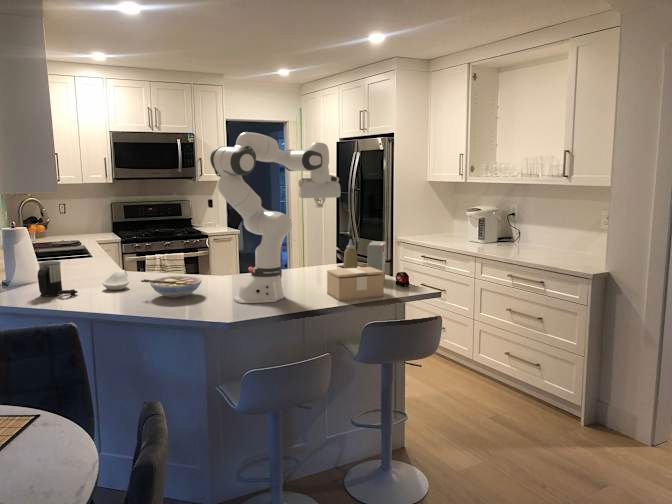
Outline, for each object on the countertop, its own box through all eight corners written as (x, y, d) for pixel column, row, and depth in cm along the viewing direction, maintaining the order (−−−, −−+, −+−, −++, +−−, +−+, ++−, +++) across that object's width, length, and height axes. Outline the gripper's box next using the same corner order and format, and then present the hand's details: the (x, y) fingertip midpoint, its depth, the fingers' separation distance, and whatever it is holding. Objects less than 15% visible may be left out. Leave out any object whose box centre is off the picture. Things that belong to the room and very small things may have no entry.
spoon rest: (127, 291, 257) (126, 276, 256) (100, 292, 255) (99, 277, 254) (135, 280, 280) (134, 267, 279) (111, 281, 278) (110, 268, 277)
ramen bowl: (214, 292, 256) (213, 275, 254) (187, 304, 234) (186, 286, 233) (167, 288, 263) (166, 272, 261) (137, 300, 241) (136, 282, 240)
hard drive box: (381, 285, 272) (382, 245, 269) (366, 284, 274) (367, 245, 271) (385, 278, 287) (386, 241, 284) (370, 278, 289) (371, 240, 286)
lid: (338, 277, 240) (338, 274, 239) (327, 272, 252) (327, 269, 252) (383, 273, 248) (383, 271, 248) (370, 268, 261) (370, 266, 260)
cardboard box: (338, 301, 241) (339, 278, 240) (327, 293, 254) (327, 272, 252) (383, 296, 249) (384, 275, 248) (370, 289, 262) (370, 269, 261)
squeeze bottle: (360, 272, 303) (360, 240, 300) (346, 273, 300) (346, 240, 297) (354, 269, 311) (354, 238, 308) (340, 270, 308) (341, 238, 305)
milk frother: (42, 292, 254) (39, 261, 251) (79, 290, 259) (77, 259, 257) (37, 300, 241) (34, 266, 238) (77, 297, 246) (74, 264, 243)
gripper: (300, 178, 251) (300, 208, 253) (342, 178, 259) (341, 207, 261) (296, 177, 257) (296, 207, 259) (337, 177, 264) (336, 206, 267)
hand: (319, 207), depth 260 cm, fingers closed
